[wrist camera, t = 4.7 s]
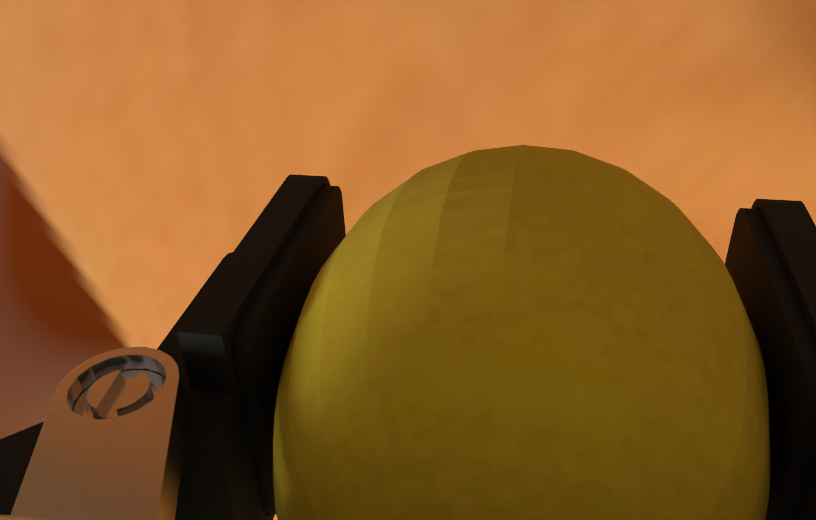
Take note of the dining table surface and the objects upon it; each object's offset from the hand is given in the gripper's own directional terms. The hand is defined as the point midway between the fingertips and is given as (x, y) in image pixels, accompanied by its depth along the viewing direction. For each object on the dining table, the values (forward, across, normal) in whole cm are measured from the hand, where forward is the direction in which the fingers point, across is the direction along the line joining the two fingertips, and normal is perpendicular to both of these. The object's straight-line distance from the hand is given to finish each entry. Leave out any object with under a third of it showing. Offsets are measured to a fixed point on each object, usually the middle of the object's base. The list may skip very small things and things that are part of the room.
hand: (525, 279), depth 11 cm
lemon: (+2, 0, 0) cm, 2 cm away
